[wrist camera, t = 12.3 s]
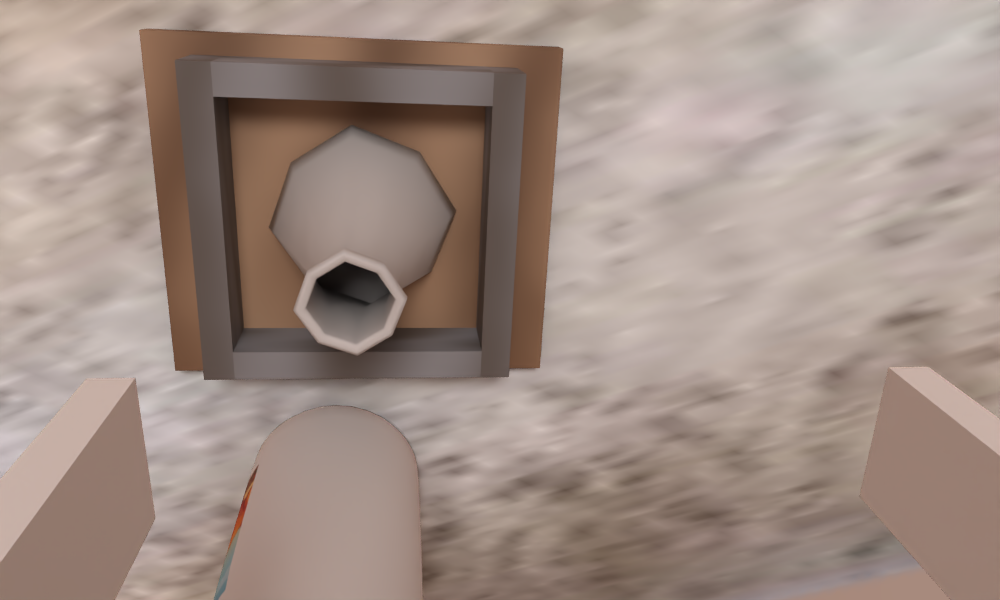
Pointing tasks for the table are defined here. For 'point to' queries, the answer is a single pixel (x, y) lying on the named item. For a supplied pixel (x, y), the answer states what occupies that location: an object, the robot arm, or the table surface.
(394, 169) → the flask
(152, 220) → the table surface
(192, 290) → the rectangular tray
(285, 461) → the milk bottle
